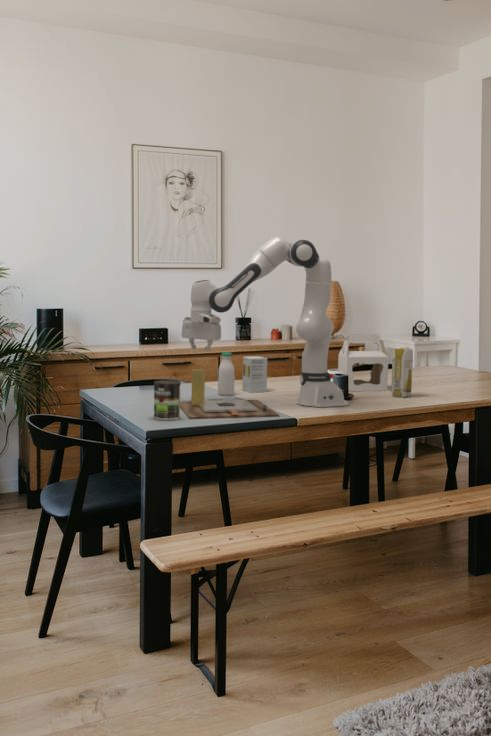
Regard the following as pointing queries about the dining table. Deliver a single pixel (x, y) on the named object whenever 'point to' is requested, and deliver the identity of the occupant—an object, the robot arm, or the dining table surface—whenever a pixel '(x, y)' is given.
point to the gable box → (368, 357)
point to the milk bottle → (226, 375)
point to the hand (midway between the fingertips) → (200, 349)
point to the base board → (197, 413)
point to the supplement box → (254, 374)
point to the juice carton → (402, 372)
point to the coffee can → (167, 399)
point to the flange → (215, 405)
